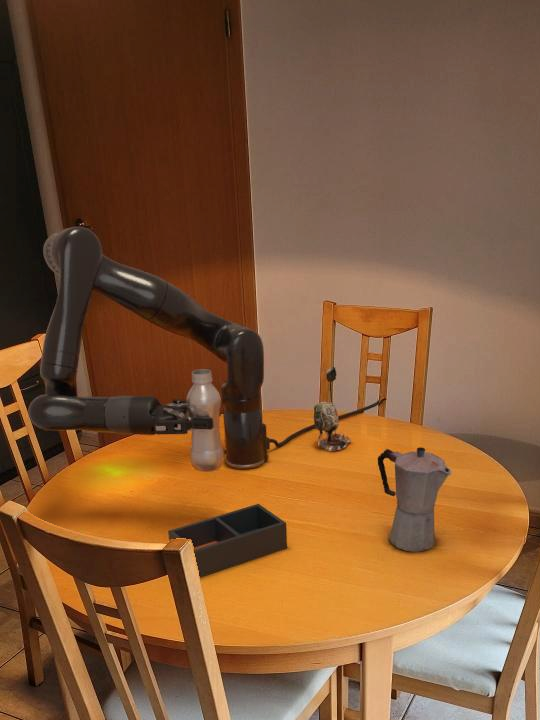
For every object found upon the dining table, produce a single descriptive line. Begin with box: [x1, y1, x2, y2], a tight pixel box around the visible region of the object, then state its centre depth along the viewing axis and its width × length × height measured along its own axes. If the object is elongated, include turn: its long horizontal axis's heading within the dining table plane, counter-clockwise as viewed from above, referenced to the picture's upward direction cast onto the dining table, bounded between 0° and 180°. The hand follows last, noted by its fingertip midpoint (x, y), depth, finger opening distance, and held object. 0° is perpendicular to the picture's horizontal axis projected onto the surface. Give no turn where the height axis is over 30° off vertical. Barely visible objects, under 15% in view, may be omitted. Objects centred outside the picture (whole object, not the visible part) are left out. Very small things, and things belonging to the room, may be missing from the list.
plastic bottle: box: [185, 368, 225, 473], centre depth 153 cm, size 6×7×20 cm
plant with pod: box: [313, 365, 352, 452], centre depth 196 cm, size 8×11×20 cm
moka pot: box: [377, 446, 453, 553], centre depth 150 cm, size 10×15×20 cm, turn 58°
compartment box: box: [167, 503, 288, 578], centre depth 152 cm, size 10×20×6 cm, turn 123°
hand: (216, 417), depth 153 cm, fingers closed on plastic bottle, 6 cm apart
